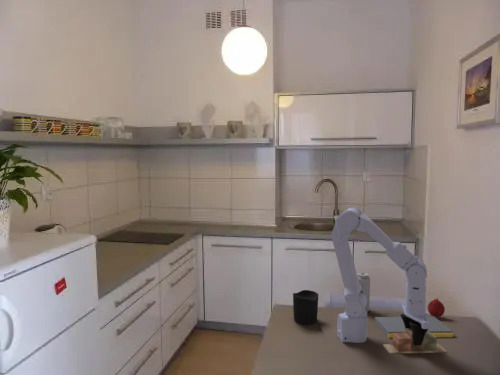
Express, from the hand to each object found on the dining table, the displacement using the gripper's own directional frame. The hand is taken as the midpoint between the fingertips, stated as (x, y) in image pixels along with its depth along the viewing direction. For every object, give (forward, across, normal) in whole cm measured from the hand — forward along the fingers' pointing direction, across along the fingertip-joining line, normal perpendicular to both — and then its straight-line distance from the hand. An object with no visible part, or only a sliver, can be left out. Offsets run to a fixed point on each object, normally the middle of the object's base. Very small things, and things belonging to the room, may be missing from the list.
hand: (414, 341), depth 118 cm
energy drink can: (+3, +32, +6) cm, 33 cm away
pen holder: (+3, +24, +30) cm, 39 cm away
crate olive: (+2, 0, -4) cm, 5 cm away
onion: (+3, +24, -20) cm, 31 cm away
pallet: (+4, 0, 0) cm, 4 cm away
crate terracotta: (+2, 0, +4) cm, 4 cm away
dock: (+3, +14, -6) cm, 16 cm away
